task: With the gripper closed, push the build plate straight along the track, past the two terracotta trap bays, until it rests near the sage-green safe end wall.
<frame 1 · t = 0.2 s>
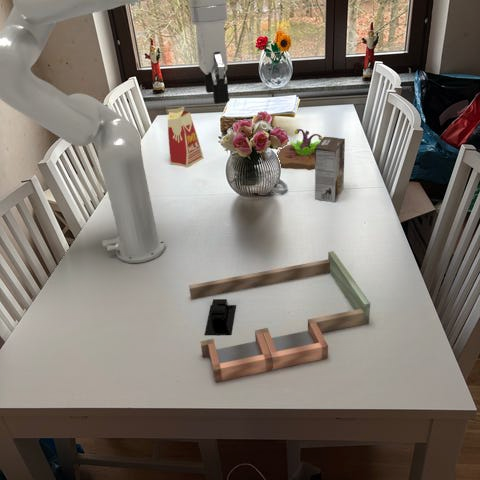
hand: (217, 96, 111), 36 cm above the table, tool pointing down, fingers open, 9 cm apart
plant: (304, 160, 171), on the table
coffee box: (329, 195, 146), on the table
ceramic mug: (269, 191, 151), on the table
milk carton: (185, 161, 177), on the table
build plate: (221, 322, 102), on the table
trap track: (271, 309, 103), on the table
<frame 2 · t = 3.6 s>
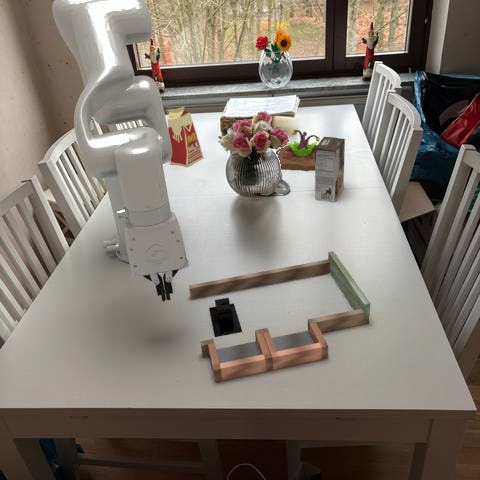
hand: (166, 296, 95), 9 cm above the table, tool pointing down, fingers closed
plant: (301, 161, 170), on the table
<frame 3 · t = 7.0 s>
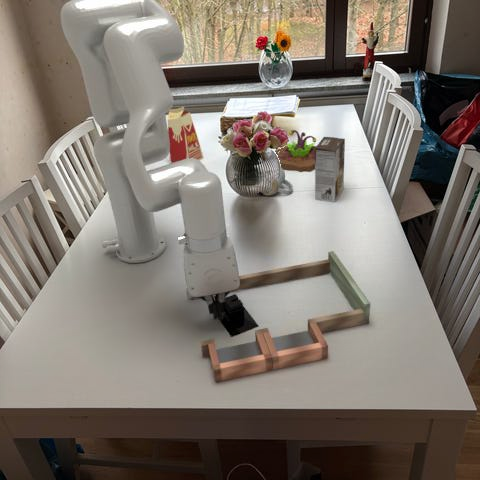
hand: (216, 314, 100), 2 cm above the table, tool pointing down, fingers closed
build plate: (234, 318, 102), on the table
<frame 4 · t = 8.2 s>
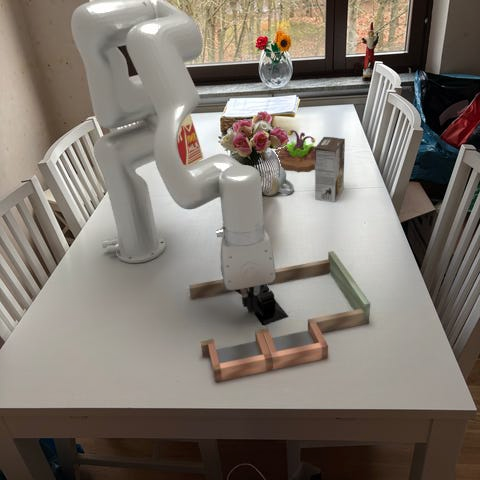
hand: (250, 307, 101), 2 cm above the table, tool pointing down, fingers closed
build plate: (265, 309, 104), on the table, touching gripper
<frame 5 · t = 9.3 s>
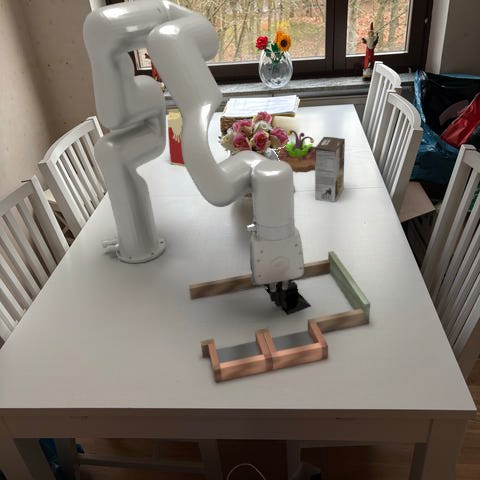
hand: (278, 302, 102), 2 cm above the table, tool pointing down, fingers closed
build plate: (287, 300, 106), on the table, touching gripper
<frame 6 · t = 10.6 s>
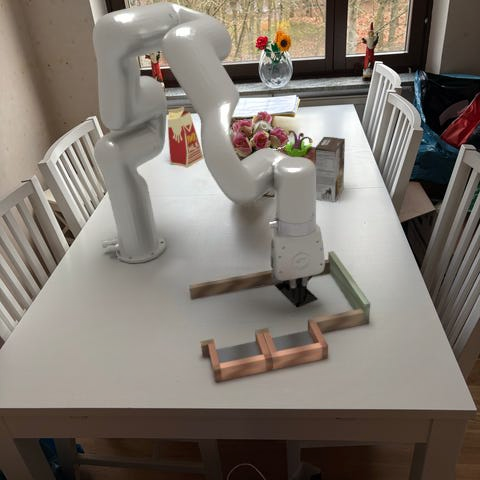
hand: (297, 298, 103), 2 cm above the table, tool pointing down, fingers closed
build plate: (296, 294, 108), on the table
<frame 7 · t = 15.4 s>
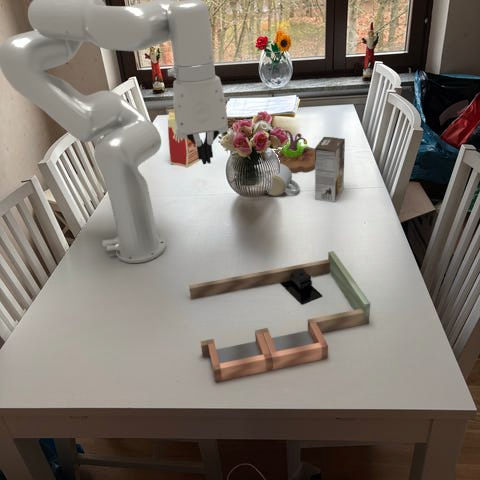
hand: (206, 161, 104), 27 cm above the table, tool pointing down, fingers closed
plant: (292, 162, 170), on the table
ceramic mug: (281, 192, 150), on the table
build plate: (301, 291, 108), on the table
everything else where it was.
at the end: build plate inside the target area (5.2 cm from its centre), on the table; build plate tilted 0°; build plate moved 19.6 cm from its start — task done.
